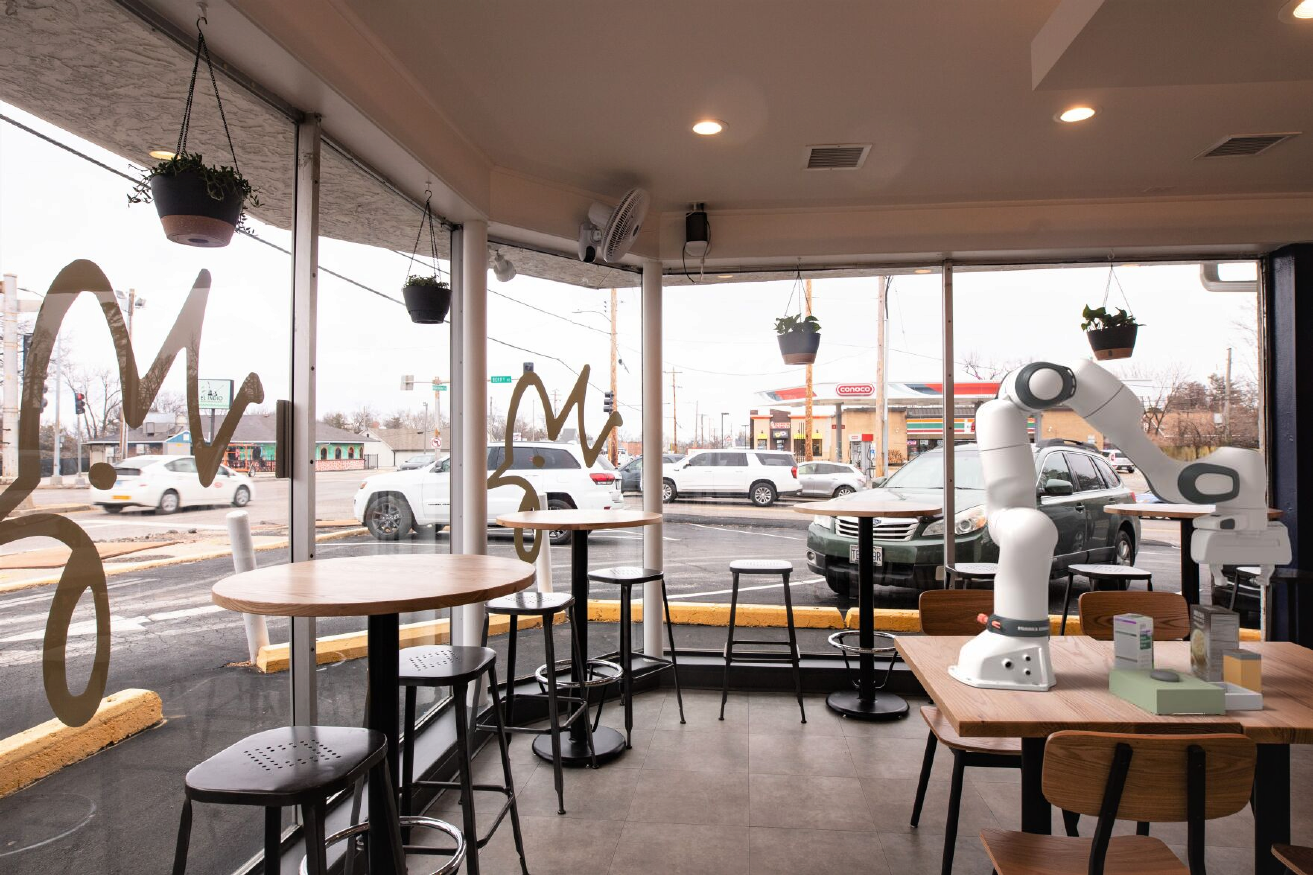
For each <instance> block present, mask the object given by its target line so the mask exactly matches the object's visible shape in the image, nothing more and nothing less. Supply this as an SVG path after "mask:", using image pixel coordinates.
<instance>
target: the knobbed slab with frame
mask: <svg viewBox="0 0 1313 875" xmlns="http://www.w3.org/2000/svg"><path fill="white" fill-rule="evenodd" d="M1108 671H1109V672H1108V674H1109V677H1108V678H1109V680H1108V685H1109V686H1108V688H1109V691H1108V692H1109V694H1112V695H1113V696H1116V697H1117V698H1119V699H1122V700H1124V701H1126V702H1128V703H1131V704H1132V705H1134V704H1135V706H1137V707H1139V708H1140V709H1143V710H1145V711H1147V712H1148V713H1151V712H1153V713H1154V715H1155V714H1157V715H1156V716H1160V715H1159V714H1173V713H1203V714H1204V713H1205V714H1220V715H1219V716H1223V715H1224V716H1225V715H1226V711H1239V710H1240V711H1255V710H1256V711H1258V710H1259V711H1261V710H1262V711H1263V705H1264V704H1263V703H1264V702H1263V694H1262V693H1261V694H1259V693H1256V692H1254V691H1251V690H1248V689H1246V688H1243V687H1240V686H1237V685H1235V684H1232V683H1229V682H1208V681H1206V680H1202V679H1199V678H1197V677H1194V676H1192V675H1188V674H1186V673H1184V672H1181V671H1178V670H1175V669H1174V668H1154V669H1115V668H1109V670H1108ZM1153 713H1152V714H1153Z"/></svg>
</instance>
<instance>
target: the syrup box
mask: <svg viewBox="0 0 1313 875" xmlns="http://www.w3.org/2000/svg"><path fill="white" fill-rule="evenodd" d="M1154 646H1155V645H1154V618H1153V617H1151V616H1148V615H1143V614H1137V613H1125V614H1123V613H1122V614H1119V615H1118V614H1117V615H1116V614H1115V615H1113V651H1114V652H1113V654H1114V655H1113V656H1114V658H1113V659H1114V661H1113V662H1114V669H1155V654H1154V653H1155V651H1154V648H1155V647H1154Z"/></svg>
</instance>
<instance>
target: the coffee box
mask: <svg viewBox="0 0 1313 875" xmlns="http://www.w3.org/2000/svg"><path fill="white" fill-rule="evenodd" d="M1189 610H1190V611H1189V612H1190V613H1189V617H1190V623H1189V624H1190V636H1189V637H1190V642H1189V643H1190V644H1189V647H1190V649H1189V650H1190V657H1189V658H1190V659H1189V661H1190V666H1189V667H1190V672H1191V673H1192V674H1194V675H1196V676H1198V677H1199V678H1201V679H1203V681H1205V682H1224V654H1223V649H1240V613H1239V612H1236V611H1233V610H1231V609H1229V608H1226V607H1223V606H1221V605H1219V604H1218V605H1216V604H1215V605H1213V604H1212V605H1210V604H1190V609H1189Z"/></svg>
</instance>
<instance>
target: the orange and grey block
mask: <svg viewBox="0 0 1313 875" xmlns="http://www.w3.org/2000/svg"><path fill="white" fill-rule="evenodd" d="M1223 654H1224V682H1229V683H1232V684H1235V685H1237V686H1240V687H1243V688H1246V689H1248V690H1251V691H1254V692H1256V693H1259V694H1262V654H1261V653H1258V652H1255V651H1252V650H1249V649H1245V648H1239V649H1223Z"/></svg>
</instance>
